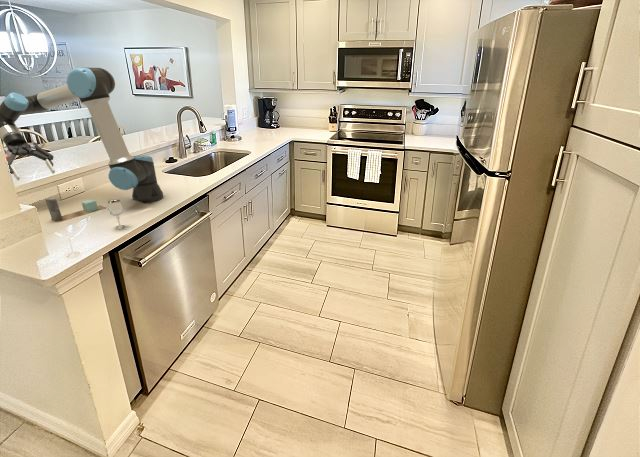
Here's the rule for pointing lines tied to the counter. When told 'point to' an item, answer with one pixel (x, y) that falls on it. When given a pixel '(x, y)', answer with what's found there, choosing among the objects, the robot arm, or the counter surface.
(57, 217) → the mallet
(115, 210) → the wineglass
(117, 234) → the counter surface
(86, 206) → the cube
